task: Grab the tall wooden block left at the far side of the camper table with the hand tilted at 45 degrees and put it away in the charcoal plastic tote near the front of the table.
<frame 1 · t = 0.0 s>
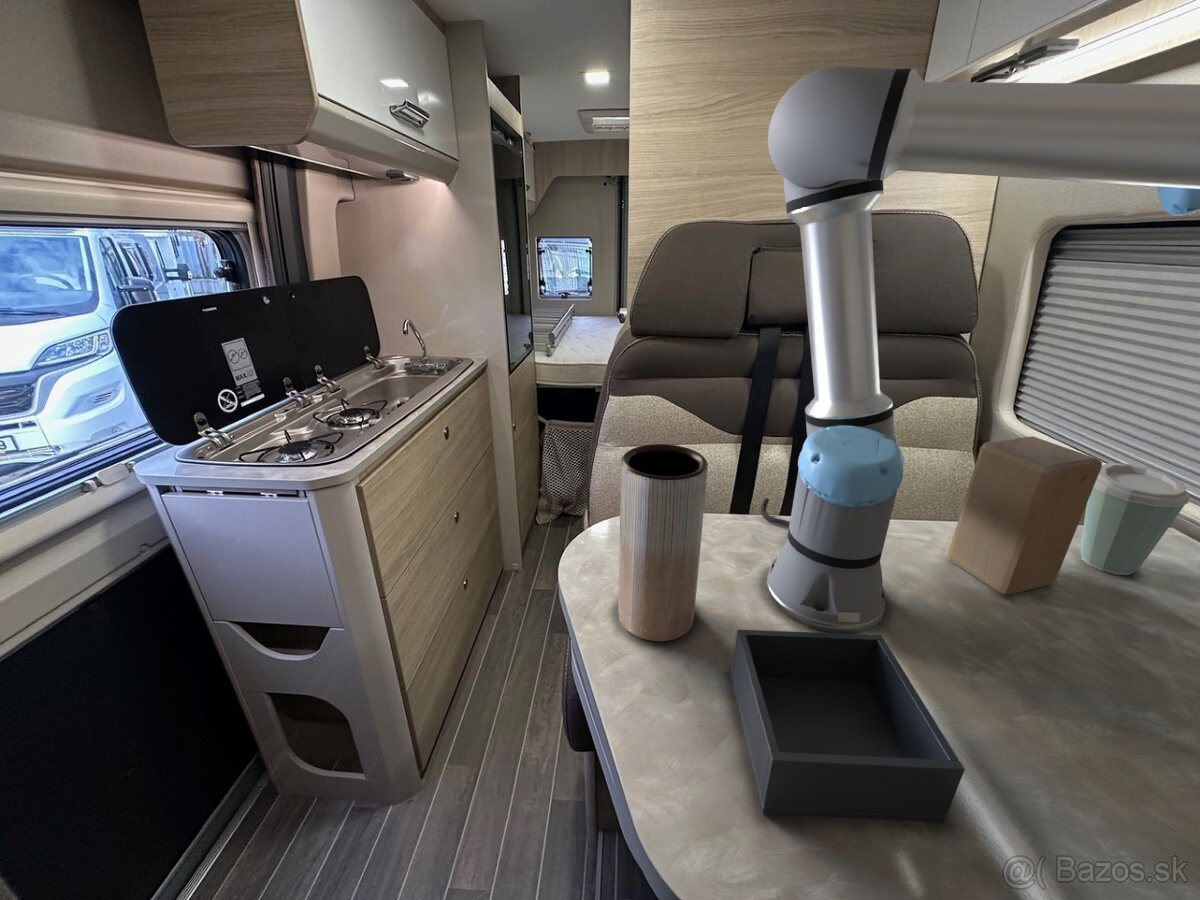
wooden block: (997, 573, 80), on the table
disposable coffee cup: (1103, 564, 82), on the table
planter: (655, 617, 71), on the table
tote: (822, 739, 54), on the table
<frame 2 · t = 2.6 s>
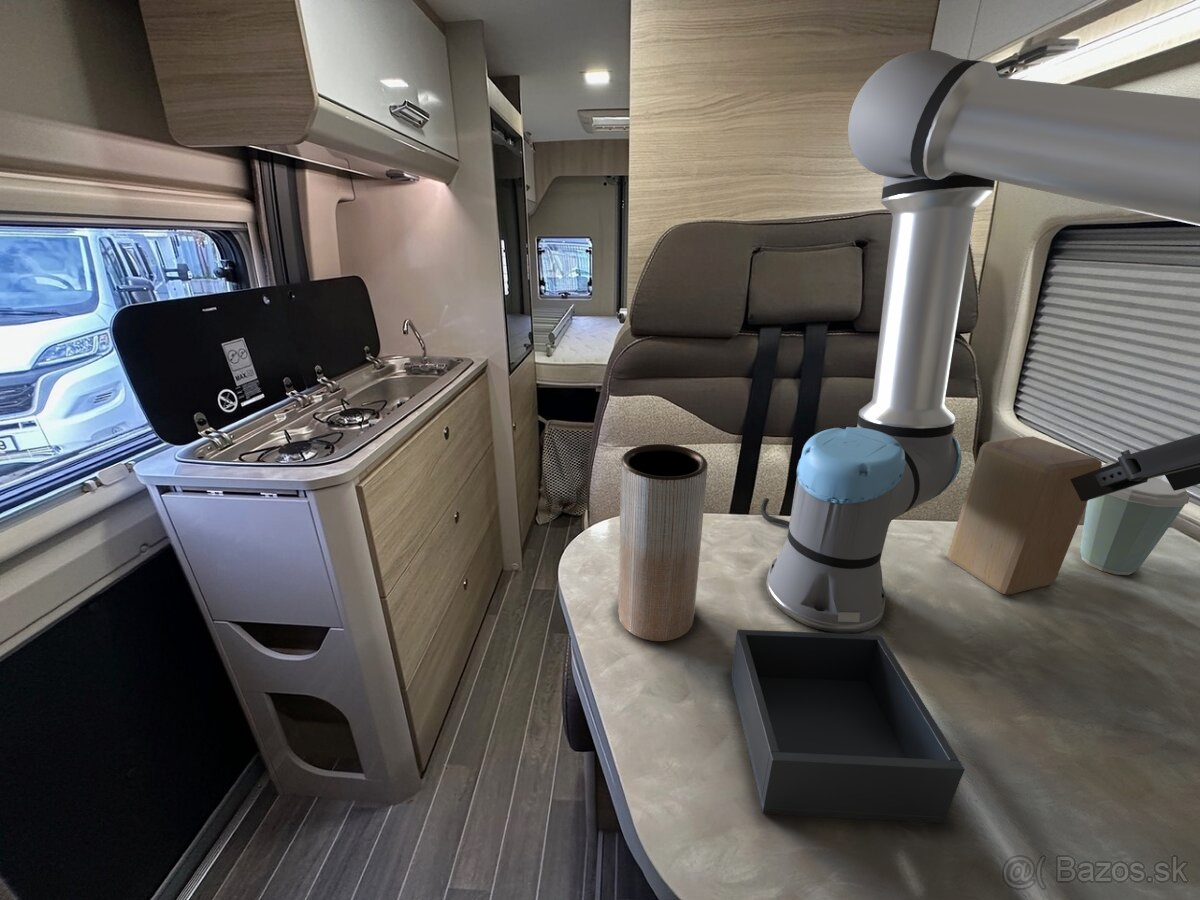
hand: (1124, 484, 63), 20 cm above the table, tool tilted 45°, fingers open, 13 cm apart
nothing on the table moved.
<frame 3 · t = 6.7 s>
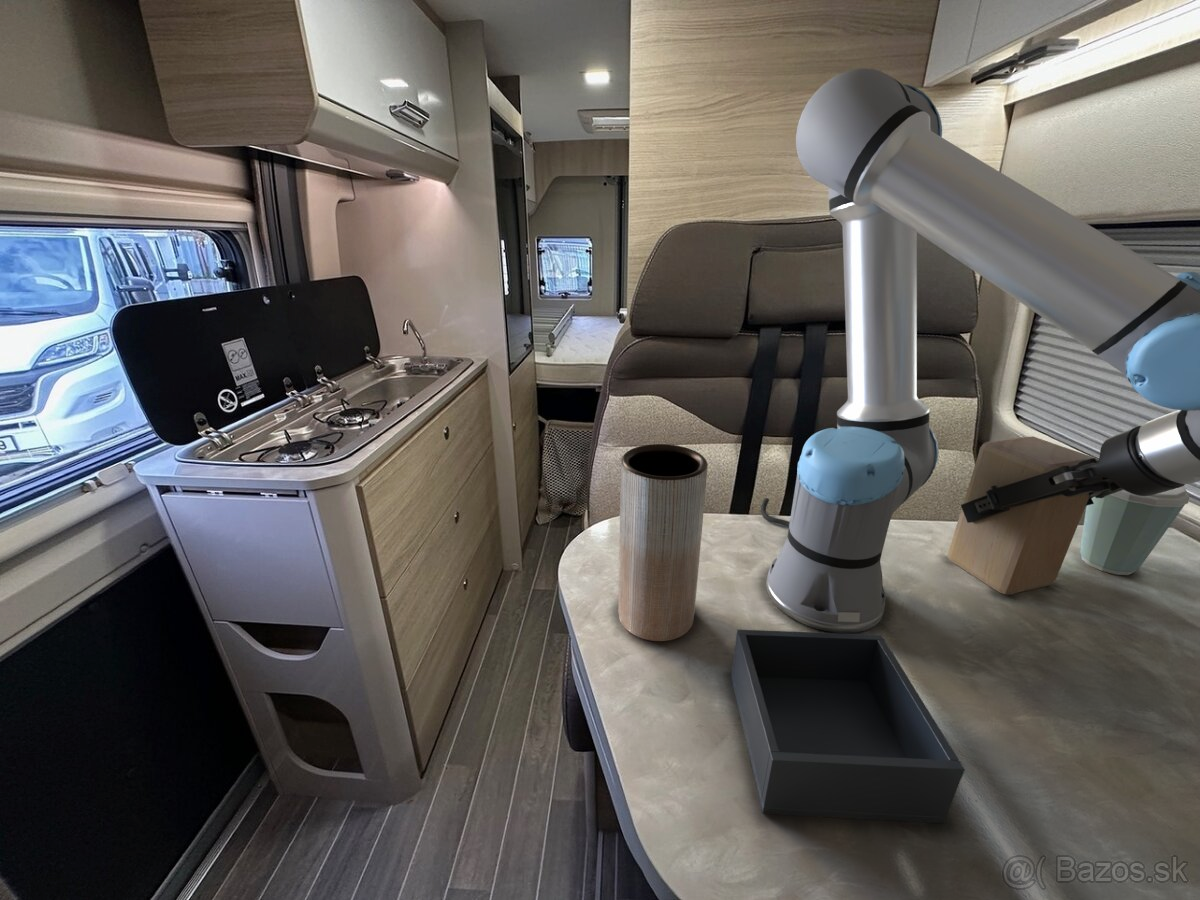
hand: (998, 510, 79), 9 cm above the table, tool tilted 45°, fingers closed on wooden block, 11 cm apart
wooden block: (997, 573, 80), on the table, touching gripper
everything else where it was.
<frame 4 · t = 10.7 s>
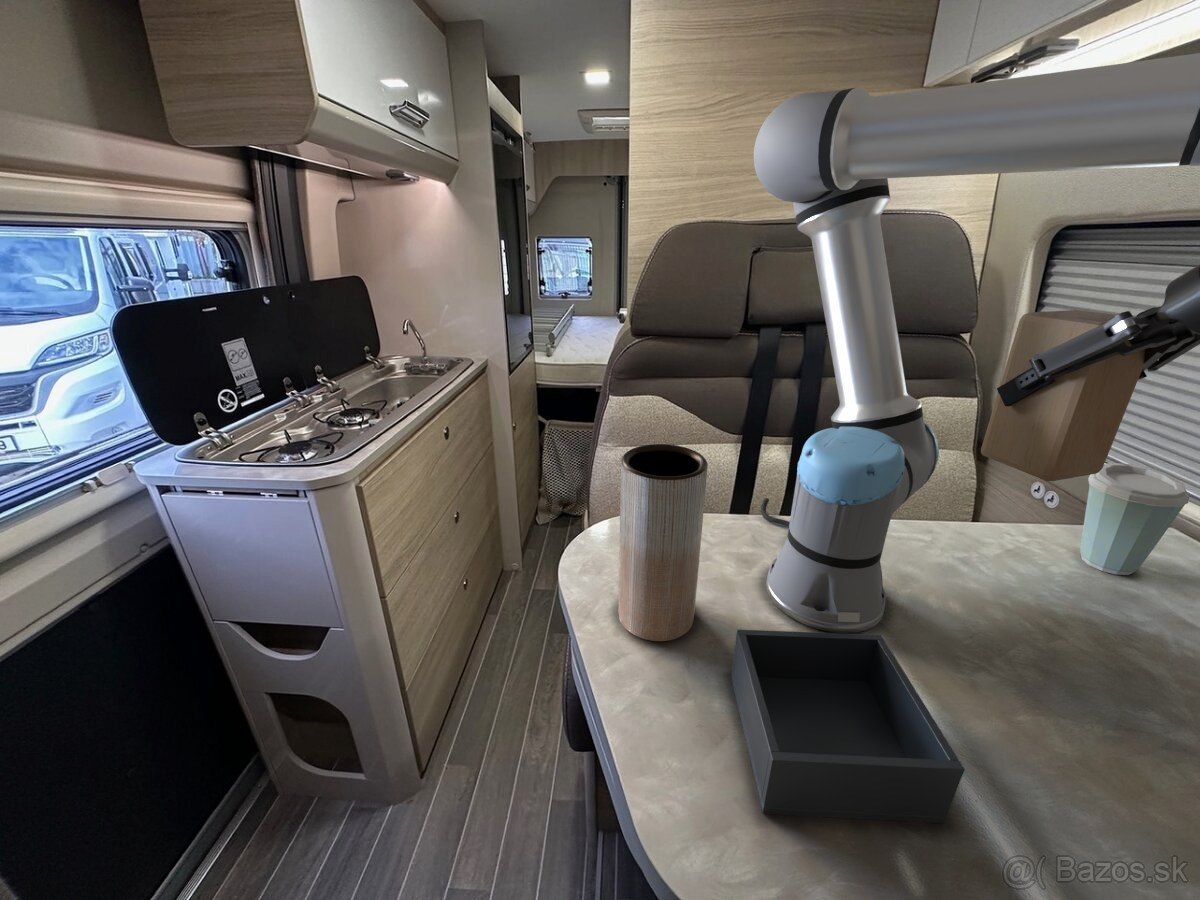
hand: (1038, 394, 72), 27 cm above the table, tool tilted 45°, fingers closed on wooden block, 11 cm apart
wooden block: (1036, 466, 72), point 18 cm above the table, touching gripper
everything else where it was.
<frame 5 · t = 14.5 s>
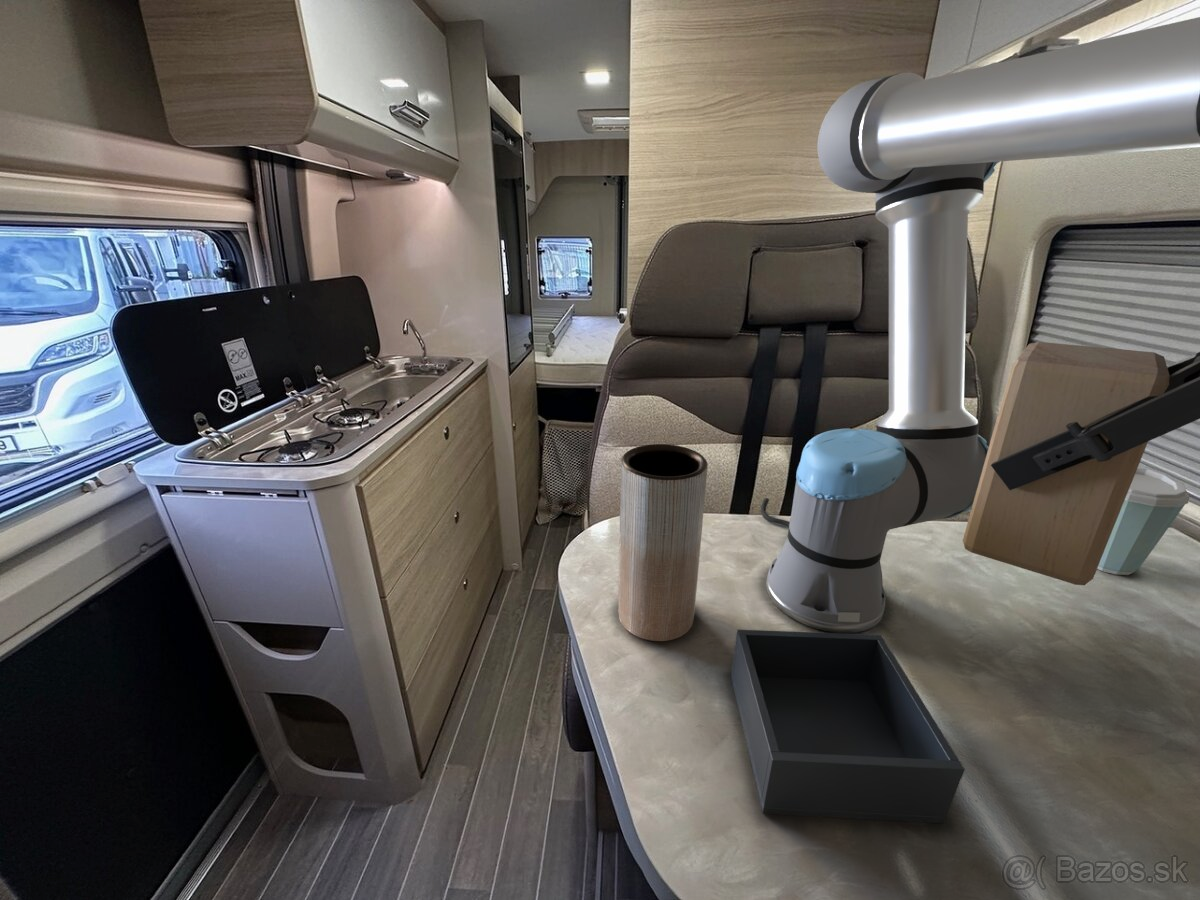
hand: (1016, 459, 52), 27 cm above the table, tool tilted 45°, fingers closed on wooden block, 11 cm apart
wooden block: (1025, 551, 54), point 17 cm above the table, touching gripper
everything else where it was.
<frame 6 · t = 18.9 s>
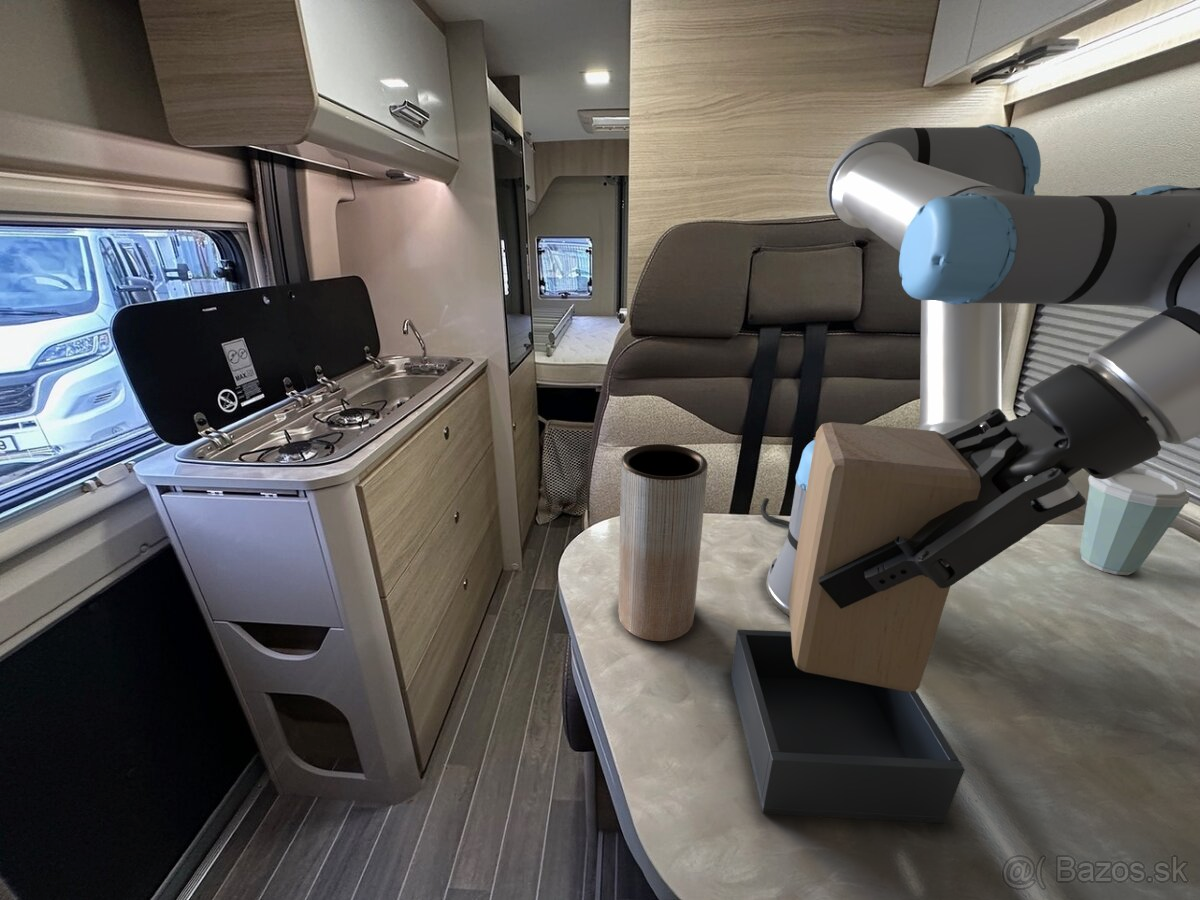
hand: (828, 554, 46), 21 cm above the table, tool tilted 45°, fingers closed on wooden block, 11 cm apart
wooden block: (845, 646, 49), point 12 cm above the table, touching gripper
everything else where it was.
when the fingers open (10 cm above the table, at t = 22.5 s): wooden block stays where it is, resting on tote.
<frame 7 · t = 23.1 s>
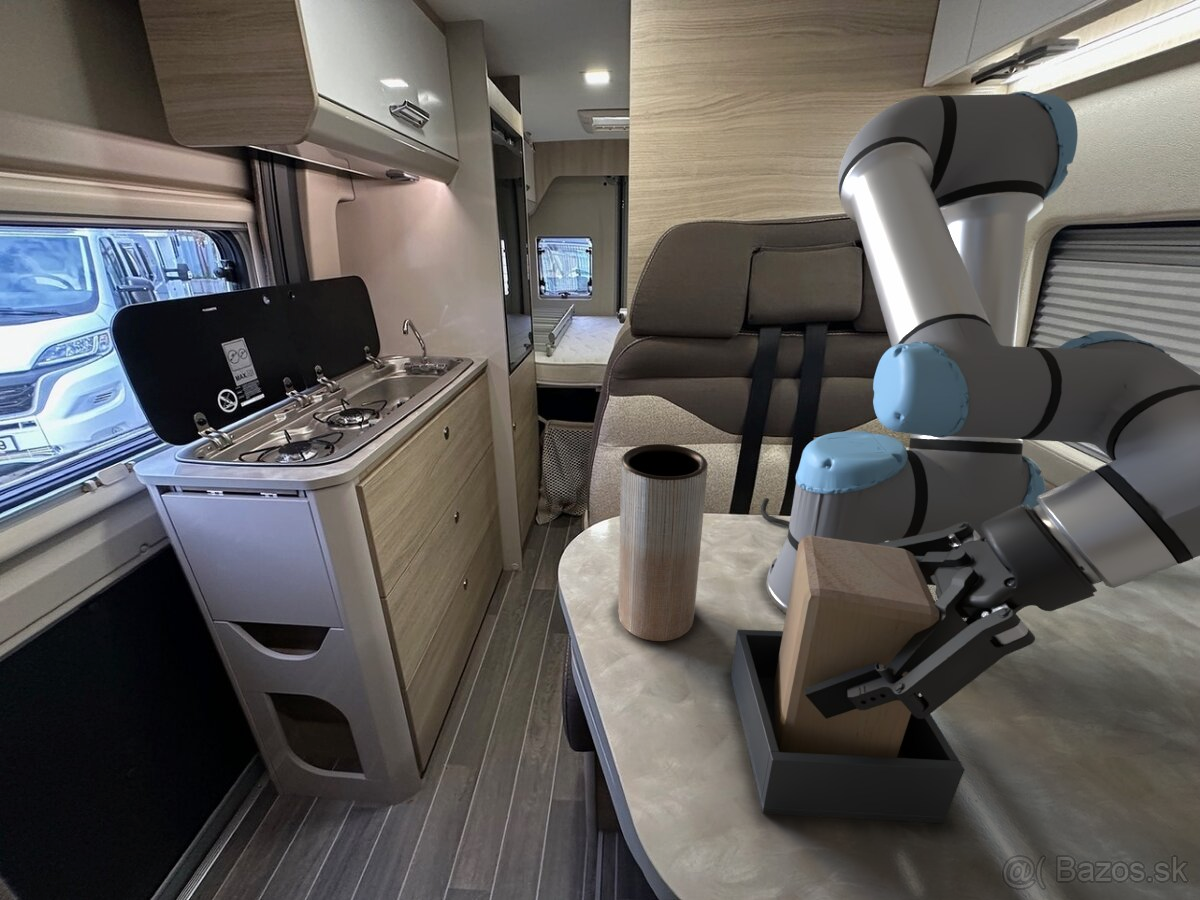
hand: (815, 647, 50), 11 cm above the table, tool tilted 45°, fingers open, 13 cm apart
wooden block: (824, 735, 53), point 1 cm above the table, touching tote
everything else where it was.
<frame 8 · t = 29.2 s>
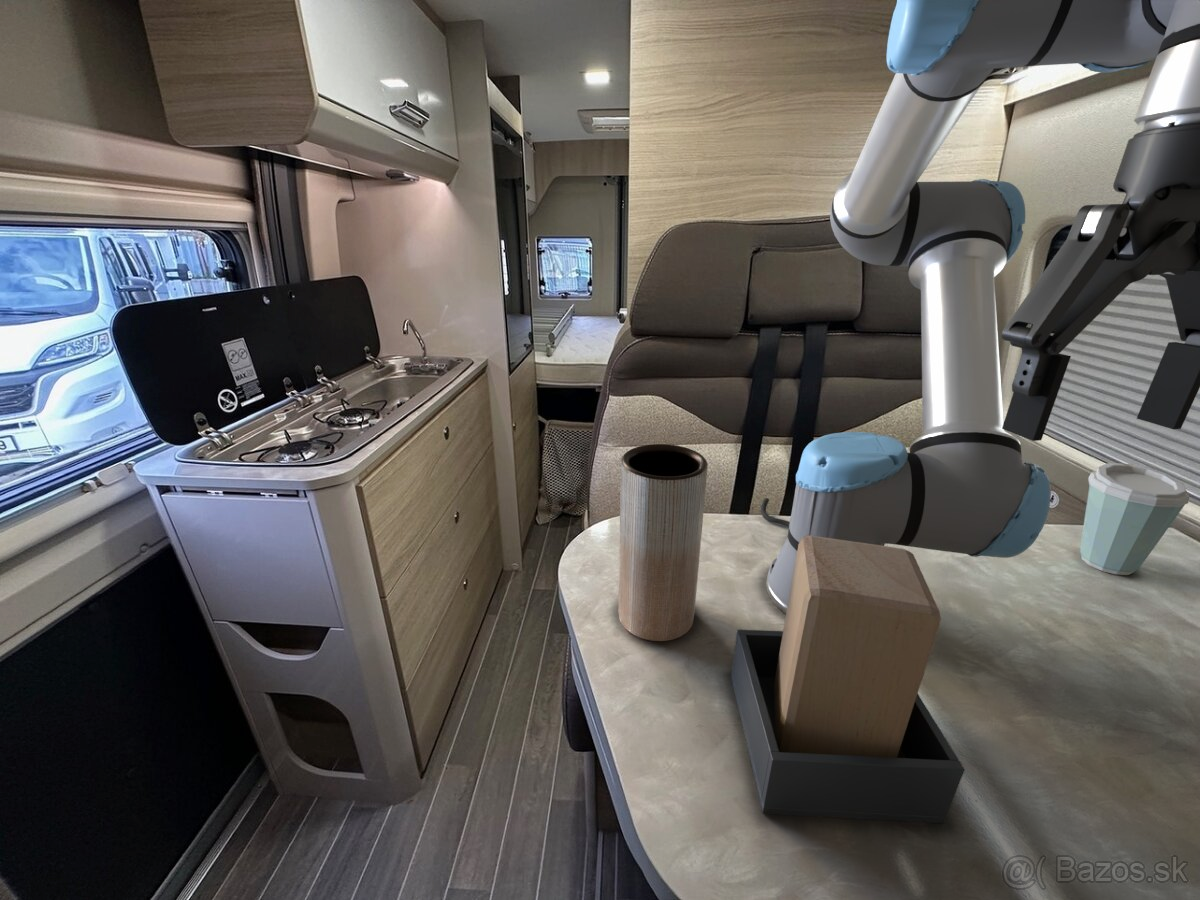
hand: (1091, 429, 43), 33 cm above the table, tool pointing down, fingers open, 13 cm apart
nothing on the table moved.
at the end: wooden block inside the target area in the tote (0.1 cm from its centre), point 0.6 cm above the tote's base; wooden block tilted 0°; the gripper is holding nothing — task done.
